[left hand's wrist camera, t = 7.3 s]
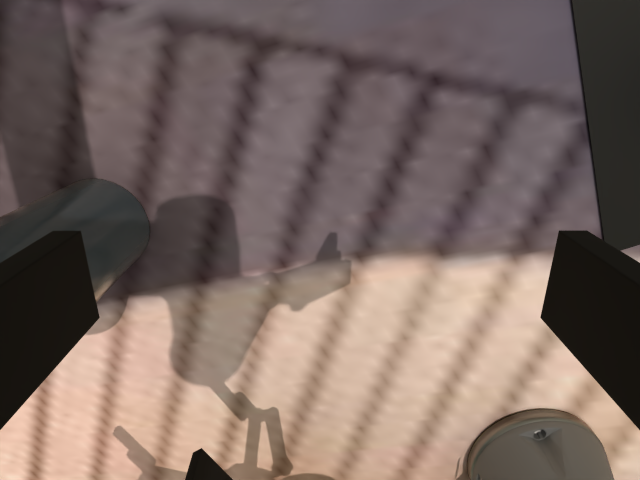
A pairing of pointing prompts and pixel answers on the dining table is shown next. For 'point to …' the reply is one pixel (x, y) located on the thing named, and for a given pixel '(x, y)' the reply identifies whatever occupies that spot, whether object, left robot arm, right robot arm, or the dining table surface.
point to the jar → (84, 227)
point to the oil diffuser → (613, 110)
